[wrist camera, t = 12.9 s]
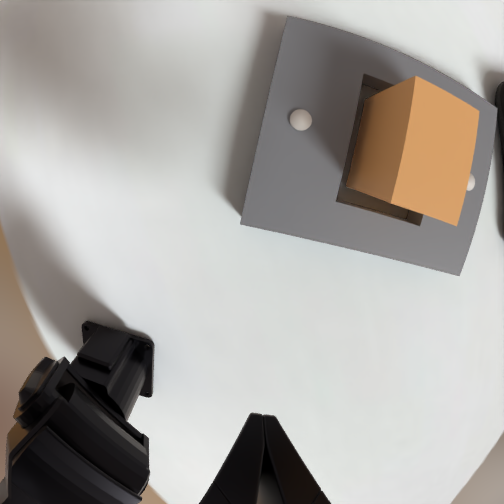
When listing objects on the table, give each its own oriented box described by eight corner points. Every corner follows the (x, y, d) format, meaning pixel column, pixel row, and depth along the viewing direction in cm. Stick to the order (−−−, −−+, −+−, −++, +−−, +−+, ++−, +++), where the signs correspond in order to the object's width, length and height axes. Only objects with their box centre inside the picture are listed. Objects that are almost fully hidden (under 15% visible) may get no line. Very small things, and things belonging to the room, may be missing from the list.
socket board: (445, 266, 20) (460, 277, 18) (241, 217, 19) (239, 225, 17) (481, 110, 16) (499, 108, 14) (285, 28, 15) (288, 14, 13)
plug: (398, 202, 18) (456, 226, 12) (345, 186, 18) (390, 203, 12) (416, 120, 17) (479, 111, 10) (364, 99, 16) (415, 75, 10)
